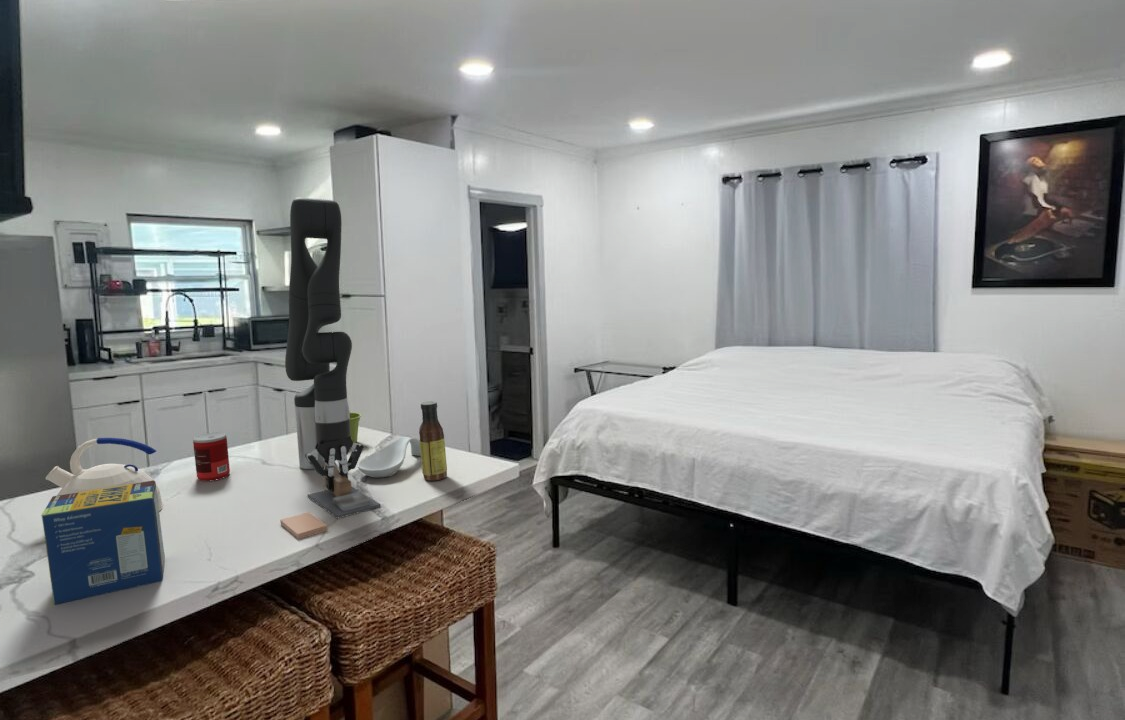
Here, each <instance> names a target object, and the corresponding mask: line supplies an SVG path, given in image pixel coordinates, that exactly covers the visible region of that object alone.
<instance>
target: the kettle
mask: <svg viewBox="0 0 1125 720" xmlns="http://www.w3.org/2000/svg"><path fill="white" fill-rule="evenodd" d="M109 444H110V445H119V446H126V447H131V448H134V449H137V450H140V451H141V452H143V453H145V454H147V455H152V454H154V453H155V454H156V452H157V449H154V448H153V447H152V446H149V445H147V444H145V443H142V442H139V441H137V440H132V439H127V438H120V437H119V438H118V437H98V438H93V439H90V440H87V441H85V442H83V443H82V444H80V445H78V446H77V447H76V449H75V451H73V453H72V454H71V457H70V461H69V465H70V466H69V467H70V472H69V471H67V470H65V469H62V468H61V467H60V466H59V465H57V466H54V467H53V468H52V470H50V472H48V474H47V475H46V476H45V480H46V481H49V482H51V483H53V484H54V485H56V486H58V487H60V488H61V489H60V490H59V492H58V493H57V494H56V496H58V495H65V494H72V493H78V492H84V491H90V490H96V489H103V488H110V487H116V486H122V485H128V484H135V483H141V482H147V481H153V480H154V479H153V478H152V477H151V476H150V475H148V474H147V473H146V472H145V471H143V470H142V469H140V468H138V467H137V466H136V465H134V464H123V463H104V464H98V465H96V466H92V467H90V468H88V469H86V468H84V469H83V467H82V466H81V457H82V456H81V455H82V454H83V453H84V452H85V450H87V449H88V448H90V447H91V446H95V445H109ZM156 490H157V498H158V507H159V512H160V511H161V510H162V509H163V507H164V504H163V501H162V495H161V492H160V487H159V486H158V485H157V484H156Z"/></svg>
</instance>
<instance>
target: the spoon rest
mask: <svg viewBox="0 0 1125 720" xmlns="http://www.w3.org/2000/svg"><path fill="white" fill-rule="evenodd" d="M409 443H410V454H412V455H411V456H413V455H417V456H416V457H421V450H420V438H416V437H408V436H401V437H398V438H396V439H395V440H393V441H392V442H390V443H388V444H387V445H385V446H384V447H382V448H380V449H379V450H376V451H375V452H373V453H371V454H369V455H367V456H365V457H364V458H362V459H361V460H359V461H358V462H357V464H356V466H357V468H358V470H359V471H360V472H361V473H362V474H363V475H365V476H368V477H371V478H374V479H375V478H376V479H380V478H381V477H383V478H388V477H391V476H394V475H395V474H394V473H397V472H398V471H399V470H400V469H401V467H402V466H403V464H404V461H405V458H406V454H407V447H408V444H409ZM390 475H391V476H390ZM387 476H388V477H387ZM381 479H382V478H381Z"/></svg>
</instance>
